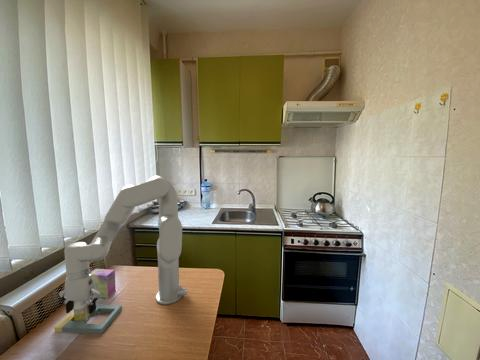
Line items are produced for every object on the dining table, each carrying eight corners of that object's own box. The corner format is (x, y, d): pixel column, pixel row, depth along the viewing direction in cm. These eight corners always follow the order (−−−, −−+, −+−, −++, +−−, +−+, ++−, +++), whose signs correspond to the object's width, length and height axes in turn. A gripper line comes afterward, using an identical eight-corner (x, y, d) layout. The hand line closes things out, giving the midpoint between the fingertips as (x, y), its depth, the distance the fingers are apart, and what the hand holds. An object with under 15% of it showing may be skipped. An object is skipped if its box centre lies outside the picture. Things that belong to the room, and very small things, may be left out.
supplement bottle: (79, 326, 84) (78, 304, 83) (71, 322, 86) (69, 300, 85) (93, 316, 89) (91, 296, 88) (85, 313, 91) (83, 292, 90)
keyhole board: (121, 309, 94) (121, 305, 94) (101, 333, 81) (101, 328, 81) (81, 308, 95) (80, 303, 94) (54, 331, 82) (54, 327, 81)
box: (116, 291, 107) (114, 269, 105) (108, 298, 101) (106, 275, 100) (97, 289, 108) (96, 268, 106) (88, 297, 102) (86, 274, 101)
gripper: (105, 268, 89) (107, 305, 91) (65, 267, 90) (69, 304, 91) (92, 278, 82) (95, 318, 83) (49, 277, 82) (53, 317, 84)
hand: (81, 311), depth 87 cm, fingers open, 9 cm apart
